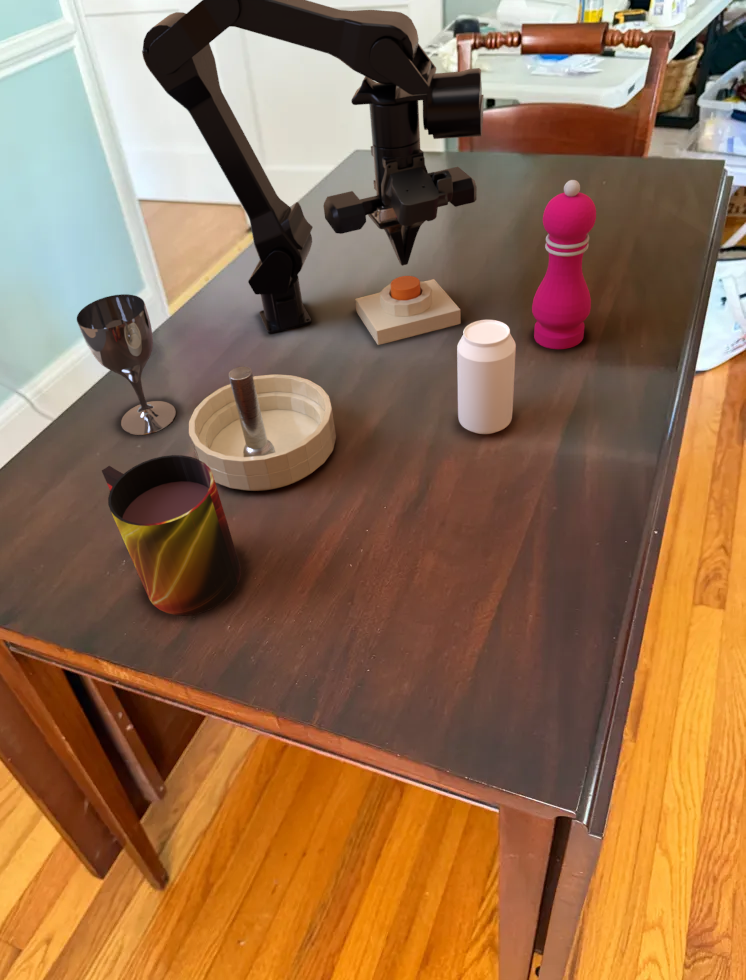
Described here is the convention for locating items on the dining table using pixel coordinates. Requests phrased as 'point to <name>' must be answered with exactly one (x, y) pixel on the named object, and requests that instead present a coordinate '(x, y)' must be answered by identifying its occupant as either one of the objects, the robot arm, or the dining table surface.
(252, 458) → the bowl
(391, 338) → the push button box
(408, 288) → the timer button
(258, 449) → the metal pestle
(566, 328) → the pepper mill
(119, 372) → the wine glass
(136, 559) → the mug
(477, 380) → the beverage can
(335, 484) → the dining table surface
